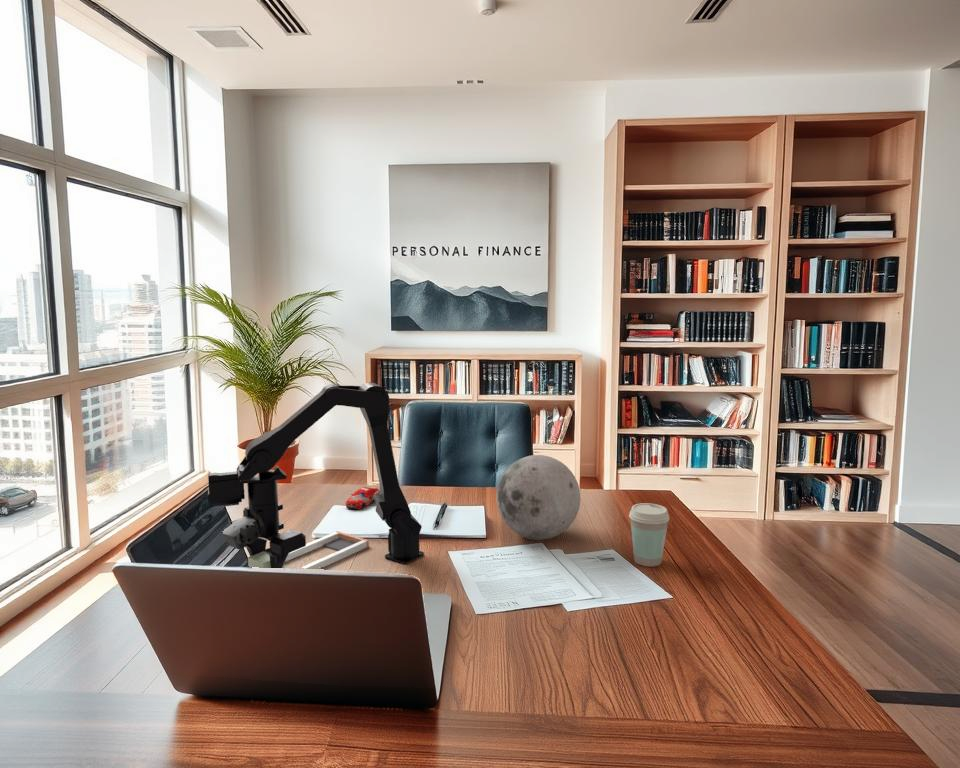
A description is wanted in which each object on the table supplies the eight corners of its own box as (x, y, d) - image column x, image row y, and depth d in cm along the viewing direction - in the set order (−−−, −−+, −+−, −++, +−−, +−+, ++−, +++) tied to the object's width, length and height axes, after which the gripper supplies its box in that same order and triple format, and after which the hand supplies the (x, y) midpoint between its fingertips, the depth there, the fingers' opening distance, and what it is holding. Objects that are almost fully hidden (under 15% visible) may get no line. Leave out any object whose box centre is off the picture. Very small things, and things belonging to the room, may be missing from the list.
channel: (366, 547, 149) (366, 541, 149) (305, 575, 134) (305, 568, 134) (335, 538, 155) (335, 532, 155) (273, 564, 140) (273, 557, 140)
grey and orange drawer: (368, 546, 150) (368, 540, 150) (350, 554, 145) (350, 548, 145) (337, 537, 156) (337, 531, 155) (319, 544, 151) (319, 538, 151)
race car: (359, 512, 174) (359, 498, 174) (342, 510, 176) (341, 496, 175) (383, 497, 186) (382, 484, 186) (366, 495, 188) (366, 482, 188)
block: (284, 577, 133) (283, 554, 133) (264, 586, 129) (263, 563, 129) (269, 571, 136) (268, 549, 136) (249, 580, 132) (247, 557, 131)
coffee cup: (669, 570, 136) (671, 516, 134) (628, 567, 138) (629, 513, 136) (666, 554, 144) (668, 503, 142) (627, 552, 146) (628, 501, 144)
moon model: (577, 523, 164) (578, 447, 161) (582, 554, 144) (583, 468, 142) (499, 521, 166) (499, 445, 163) (493, 551, 146) (493, 466, 144)
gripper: (200, 503, 129) (205, 577, 131) (258, 522, 119) (263, 601, 121) (247, 489, 138) (251, 558, 140) (306, 505, 128) (309, 579, 130)
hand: (267, 574), depth 133 cm, fingers closed on block, 5 cm apart
